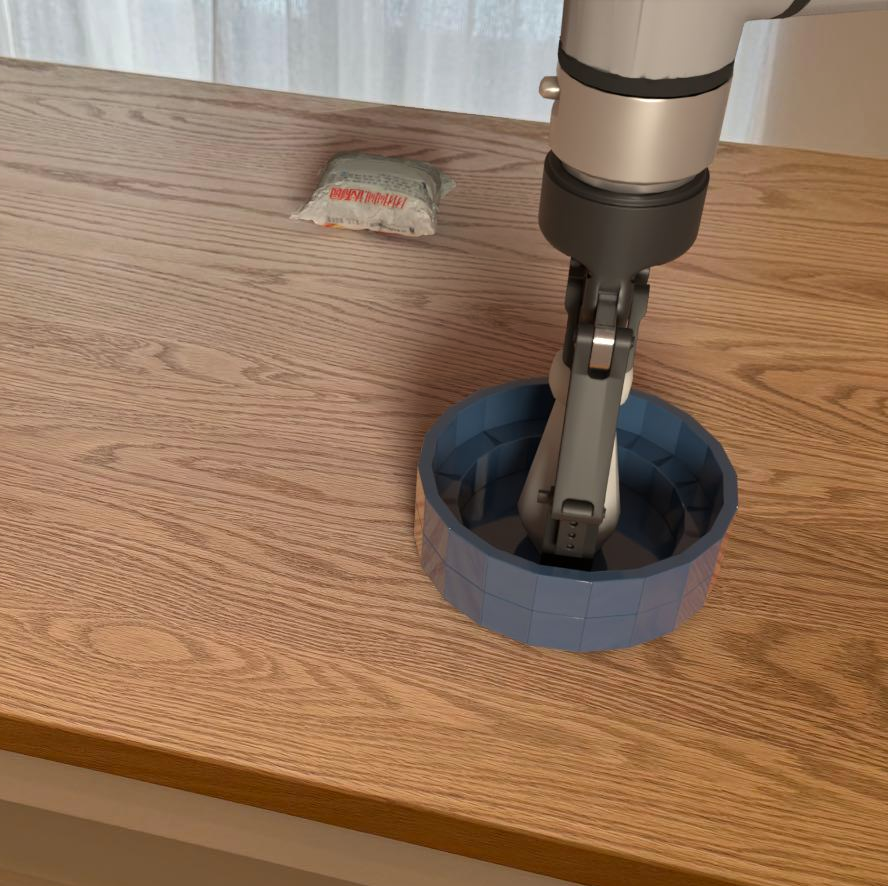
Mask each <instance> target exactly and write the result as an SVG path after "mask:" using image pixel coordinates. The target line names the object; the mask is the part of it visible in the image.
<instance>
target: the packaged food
mask: <svg viewBox="0 0 888 886" xmlns="http://www.w3.org/2000/svg"><path fill="white" fill-rule="evenodd" d="M316 178H317V179H316V181H319V182H318V184H317V186H316V187H315V189H314V191H313V193H312V195H311V196H310V197H309V198H308V199H306V200H304V201H303V202H302V203H301V204H300V205H298V206H297V207H296V208H295V209H294V210H292V211H291V213H290V215H289V218H288V219H290V220H295V221H296V220H298V219H300V220H305V221H311V220H312V221H313V223H314V224H315V225H318V226H320V227H323V228H327V229H328V228H329V229H340V230H341V229H342V230H352V231H353V230H354V231H367V232H368V231H371V232H373V233H375V234H379V235H393V236H405V237H414V238H418V237H420V236H423V235H424V236H426V237H427V236H434V235H435V234H436V231H437V227H438V220H437V218H438V215H437V213H440V214H442V211H441V208H440V202H441V200H442V199H444V198H445V197H446V195H447V194H448V193H451V192H452V190H453V189H456V188H457V185H458V183H457V182H456V181H455V180H454V179H453V178H452V177H451V176H450V175H448V174H446V173H445V171H443V170H442V169H441V168H439V167H437V166H436V165H434V164H433V163H431V162H430V161H427V160H421V159H412V158H407V157H398V156H384V155H382V154H375V153H368V152H361V151H358V150H357V151H356V150H355V151H354V150H349V151H347V150H346V151H339V152H336V153H334V154H333V155H332V156H331V157H329V159H328V160H327V161H324V166H323V167H322V168H321V167H320V168H319V170H318V172H316Z"/></svg>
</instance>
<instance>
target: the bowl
mask: <svg viewBox="0 0 888 886" xmlns="http://www.w3.org/2000/svg"><path fill="white" fill-rule="evenodd" d="M555 401H556V399H555V398H554V396H553V393H552V391H551V388H550V385H549V376H537V377H520V378H515V379H512V380H509V381H506V382H501V383H499V384H495V385H491V386H488V387H484V388H481V389H478V390H476V391H474V392H472V393H471V394H469V395H467V396H466V397H465V398H463V399H460V400H459V401H457V402H456V403H454V404H453V405H451V406H449V407H447V408H446V409H445V410H444V411H443V412H442V414H441V415H440V416H439V417H438V418H437V420H436V421H435V422H434V423H433V424H432V426H431V427H430V428H429V429H428V431H427V432H425V434H424V437H423V442H422V445H421V449H420V452H419V458H418V461H417V465H416V466H417V467H416V483H415V484H416V486H415V501H414V504H415V505H414V523H413V537H414V541H415V545H416V546H415V547H416V550H417V555H418V560H419V564H420V567H421V569H422V570H423V571H424V573H425V574H426V576H427V577H428V578H429V580H430V582H431V583H432V584H433V585H434V587H435V589H436V590H437V591H438V593H439V594H440V595H441V597H442V598H443V600H444V601H446V602H447V603H448V604H450V605H451V606H452V607H453V608H455V609H456V610H458V611H459V612H460V613H462V614H463V615H464V616H466V617H467V618H468V619H470V620H471V621H472V622H474V623H475V624H477V626H479V627H481V628H484V629H487V630H489V631H491V632H494V633H497V634H500V635H501V636H504V637H507V638H508V639H512V640H514V641H517V642H519V643H520V644H521V643H522V644H523V645H528V646H532V647H539V648H545V649H553V650H560V651H566V652H572V653H589V652H601V651H603V652H604V651H613V650H624V649H626V650H627V649H631V648H634V647H637V646H639V645H642V644H645V643H647V642H651V641H653V640H656V639H658V638H662V637H664V636H667V635H670V634H672V633H674V632H675V631H676V630H677V629H679V628H681V626H683V624H685V623H686V622H687V621H689V620H690V619H691V618H692V617H694V615H696V614H697V613H698V612H699V611H700V610H702V609H703V608H704V606H705V604H706V602H707V600H708V599H709V596H710V595H711V592H712V591H713V588H714V586H715V584H716V583H717V580H718V579H719V575H720V572H721V568H722V565H723V562H724V558H725V555H726V552H727V548H728V544H729V541H730V537H731V535H732V531H733V527H734V524H735V520H736V516H737V513H738V510H739V484H738V483H739V480H738V478H739V477H738V473H737V471H736V469H735V468H734V466H733V463H732V462H731V460H730V458H729V456H728V454H727V452H726V450H725V448H724V446H723V445H722V443H721V442H720V441H719V440H718V439H717V438H716V437H715V436H714V435H713V434H711V432H710V431H708V430H707V429H706V428H705V427H704V425H702V424H701V423H700V422H699V421H698V420H696V418H695V417H694V416H692V415H691V414H690V413H688V412H687V411H684V410H683V409H681V408H680V407H677V406H676V405H673V404H672V403H670V402H668V401H666V400H665V399H663V398H661V397H659V396H657V395H655V394H653V393H650V392H646V391H643V390H641V389H637V388H633V387H631V388H630V391H629V395H628V398H627V400H626V401H625V403H623V404H622V405H620V410H619V417H618V423H617V429H616V435H617V455H618V475H619V495H620V515H619V519H618V522H617V526H616V529H615V531H614V533H613V534H612V536H611V537H610V538H609V539H608V540H607V541H606V542H605V543H604V544H603V545H602V547H601V548H600V549H599V550H598V551H597V552H596V553H594V557H593V562H592V568H591V572H588V571H581V570H574V569H567V568H560V567H553V566H546V565H540V559H541V555H540V553H539V552H538V550H537V549H536V547H535V545H534V544H533V542H532V541H531V539H530V538H529V536H528V534H527V532H526V530H525V528H524V526H523V524H522V521H521V518H520V515H519V512H518V501H519V499H520V496H521V493H522V490H523V488H524V485H525V482H526V480H527V477H528V474H529V471H530V469H531V466H532V463H533V461H534V458H535V455H536V452H537V450H538V447H539V444H540V442H541V439H542V436H543V433H544V431H545V428H546V425H547V423H548V420H549V417H550V414H551V412H552V409H553V406H554V404H555Z"/></svg>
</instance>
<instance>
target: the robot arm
mask: <svg viewBox="0 0 888 886" xmlns="http://www.w3.org/2000/svg"><path fill="white" fill-rule="evenodd" d="M887 10H888V0H563V4H562V13H561V14H562V15H561V25H560V35H559V37H558V38H559V40H558V45H557V62H556V68H555V73H556V75H544V76H543V78H541V80H540V82H539V86H538V94H539V95H540V97H542V99H545V100H553V103H552V107H551V111H550V119H549V128H548V135H547V136H548V138H547V141H548V146H549V148H550V150H549V151H548V152H547V153H546V155H545V158H544V161H543V171H542V180H541V188H540V197H539V204H538V205H539V206H538V214H537V222H538V226H539V227H538V228H539V230H540V232H541V234H542V235H543V237H544V239H545V240H546V241H547V243H548V244H550V245H551V246H552V247H553V248H554V249H555V250H557V251H558V252H560V253H561V254H563V255H565V256H567V257H570V259H569V260H570V261H569V268H568V274H567V282H566V290H565V295H564V296H565V297H564V309H565V311H566V313H567V321H566V328H565V335H564V341H563V348H562V349H563V355H562V359H563V362H564V364H565V365H566V366H567V367H568V368H569V369H570V379H569V386H568V393H567V400H566V407H565V414H564V422H563V429H562V436H561V443H560V450H559V457H558V464H557V471H556V478H555V485H554V486H551V491H548V490H540V489H539V491H538V498H537V503H544V504H548V511H547V518H546V525H545V532H544V539H543V546H542V552H541V559H540V565H546V566H553V567H560V568H567V569H574V570H581V571H588V572H591V568H592V562H593V557H594V552H595V546H596V541H597V536H598V530H599V525H601V523H603V518H605V514H606V508H605V506H604V504H605V498H606V491H607V484H608V478H609V472H610V466H611V460H612V454H613V447H614V441H615V435H616V429H617V423H618V417H619V410H620V404H621V398H622V392H623V386H624V380H625V374H626V373H627V372H629V371H630V370H631V369H632V367H633V368H634V362H635V356H636V349H637V343H638V336H639V329H640V324H641V321H642V320H643V319H644V318H645V317H646V315H647V311H648V304H649V299H650V290H651V283H649V278H650V272H651V268H653V267H657V266H662V265H665V264H668V263H670V262H671V263H672V262H673V261H675V260H677V259H679V258H680V257H681V256H683V255H684V254H686V253H687V252H688V251H689V250H690V249H691V248H692V247H693V246H694V244H695V242H696V241H697V238H698V235H699V231H700V227H701V222H702V217H703V212H704V207H705V203H706V198H707V193H708V190H709V189H708V188H709V184H710V178H711V174H710V169H709V166H710V165H712V164H713V163H714V160H715V158H716V155H717V153H718V148H719V143H720V139H721V134H722V129H723V126H724V120H725V116H726V112H727V106H728V101H729V96H730V93H731V92H730V91H731V87H732V83H733V79H734V70H735V68H734V67H735V62H736V58H737V53H738V50H739V46H740V42H741V39H742V34H743V31H744V27H745V24H746V23H747V22H752V21H763V20H764V21H765V20H779V19H780V20H784V19H787V18H795V17H808V16H810V17H811V16H823V15H834V14H847V13H860V12H873V11H887ZM575 343H576V344H575ZM574 344H575V347H574ZM590 353H591V354H590Z"/></svg>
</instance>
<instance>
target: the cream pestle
mask: <svg viewBox="0 0 888 886" xmlns="http://www.w3.org/2000/svg"><path fill="white" fill-rule="evenodd" d="M575 344H576V343H575ZM575 344H574V347H575ZM590 354H591V353H590ZM562 355H563V348H561V349H560V350H559V351H557V352H556V354H555V356H554V357H553V358H554V359H553V360H552V363H551V366H550V369H549V372H548V377H549V385H550V388H551V391H552V393H553V396H554V398H555V399H556V401H555V404H554V406H553V409H552V412H551V414H550V417H549V420H548V423H547V425H546V428H545V431H544V433H543V436H542V439H541V442H540V444H539V447H538V450H537V452H536V455H535V458H534V461H533V463H532V466H531V469H530V471H529V474H528V477H527V480H526V482H525V485H524V488H523V490H522V493H521V496H520V499H519V501H518V512H519V515H520V518H521V521H522V524H523V526H524V528H525V530H526V532H527V534H528V536H529V538H530V539H531V541H532V542H533V544H534V545H535V547H536V549H537V550H538V552H539V553H540V555H541V552H542V546H543V539H544V532H545V525H546V518H547V511H548V504H544V503H537V498H538V491H539V489H540V490H548V491H551V486H554V485H555V478H556V471H557V464H558V457H559V450H560V443H561V436H562V429H563V422H564V414H565V407H566V400H567V393H568V386H569V379H570V369H569V368H568V367H567V366H566V365H565V364H564V362H563V359H562ZM633 379H634V366H633V367H632V369H631V370H630V371H629V372H627V373H626V374H625V380H624V386H623V392H622V398H621V404H620V405H622V404H623V403H625V401H626V400H627V398H628V395H629V391H630V388H632V384H633V381H634V380H633ZM604 506H605V508H606V514H605V518H603V523H601V525H599V530H598V536H597V541H596V546H595V552H594V553H596V552H597V551H598V550H599V549H600V548H601V547H602V545H603V544H604V543H605V542H606V541H607V540H608V539H609V538H610V537H611V536H612V534H613V533H614V531H615V529H616V526H617V522H618V519H619V515H620V495H619V475H618V455H617V435H615V441H614V447H613V454H612V460H611V466H610V472H609V478H608V484H607V491H606V498H605V504H604Z"/></svg>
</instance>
